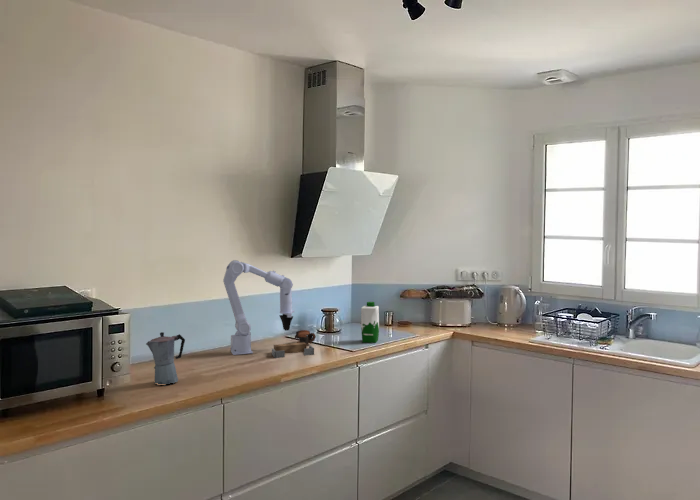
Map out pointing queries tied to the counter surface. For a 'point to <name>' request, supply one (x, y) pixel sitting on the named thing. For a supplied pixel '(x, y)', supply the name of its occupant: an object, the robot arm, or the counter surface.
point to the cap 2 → (309, 350)
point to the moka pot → (165, 358)
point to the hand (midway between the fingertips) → (286, 329)
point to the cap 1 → (278, 353)
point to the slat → (291, 347)
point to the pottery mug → (305, 336)
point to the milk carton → (370, 323)
